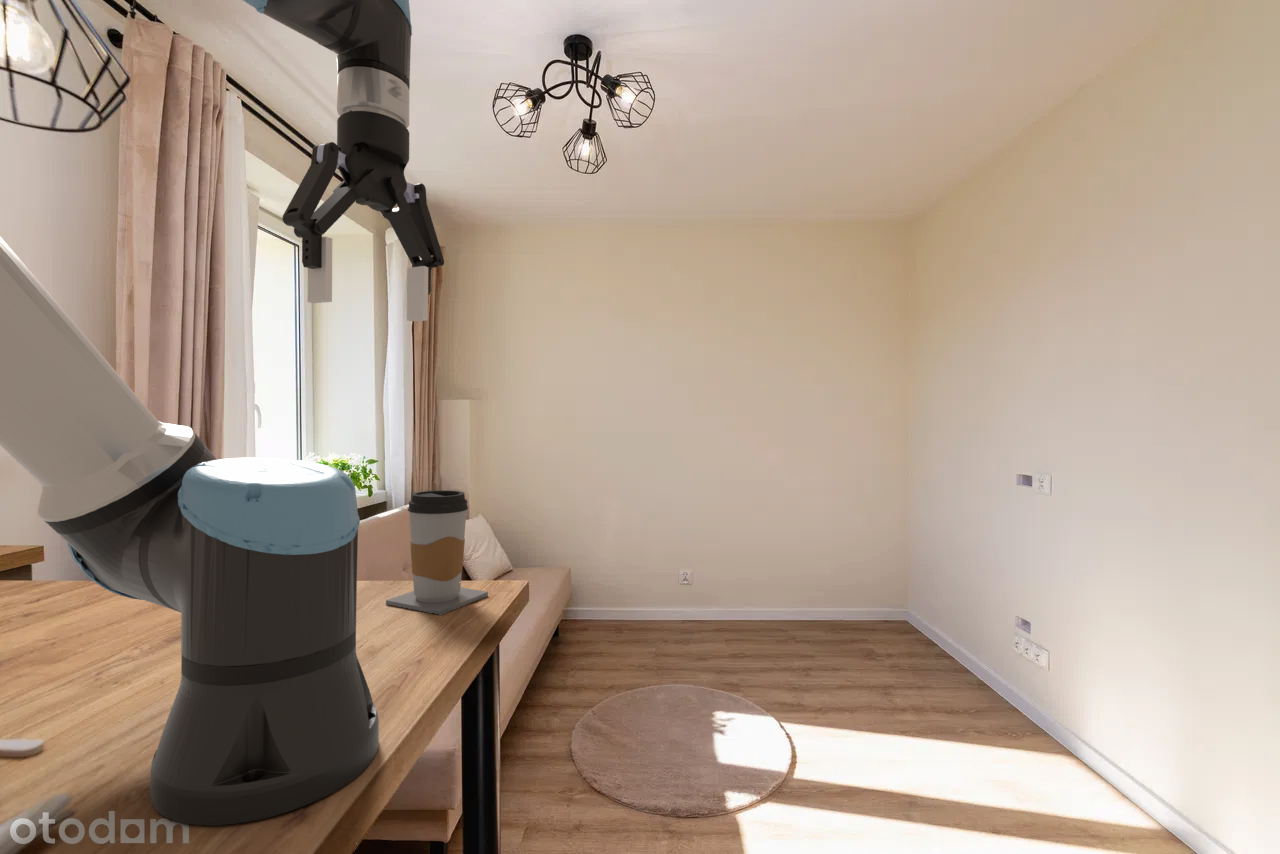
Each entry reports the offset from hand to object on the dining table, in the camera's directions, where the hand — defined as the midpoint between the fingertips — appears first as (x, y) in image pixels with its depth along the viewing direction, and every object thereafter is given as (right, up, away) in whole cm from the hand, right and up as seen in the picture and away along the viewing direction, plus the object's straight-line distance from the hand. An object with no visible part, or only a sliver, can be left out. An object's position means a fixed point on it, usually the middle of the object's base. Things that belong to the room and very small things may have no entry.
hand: (372, 312), depth 71 cm
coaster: (+1, -38, +20) cm, 43 cm away
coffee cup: (+1, -38, +20) cm, 43 cm away
